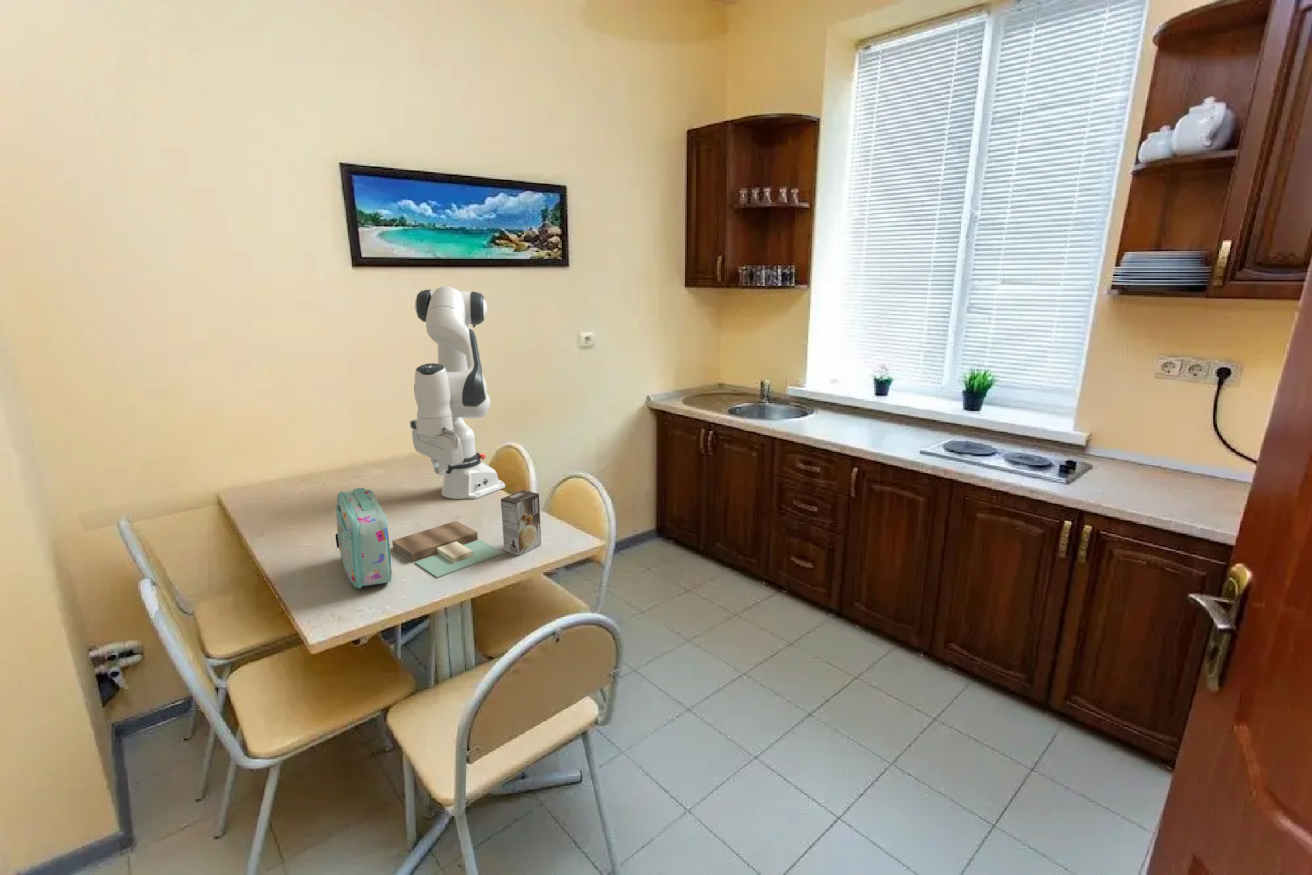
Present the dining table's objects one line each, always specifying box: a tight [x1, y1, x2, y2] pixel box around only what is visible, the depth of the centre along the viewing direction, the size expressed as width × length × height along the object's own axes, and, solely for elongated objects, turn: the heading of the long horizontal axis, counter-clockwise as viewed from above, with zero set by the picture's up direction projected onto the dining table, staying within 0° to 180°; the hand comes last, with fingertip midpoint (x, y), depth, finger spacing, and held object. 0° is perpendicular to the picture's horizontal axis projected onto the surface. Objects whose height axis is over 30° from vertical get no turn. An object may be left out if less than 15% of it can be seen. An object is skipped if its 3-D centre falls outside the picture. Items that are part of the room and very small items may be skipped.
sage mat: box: [414, 539, 504, 579], centre depth 167 cm, size 20×12×1 cm, turn 138°
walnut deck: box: [391, 520, 479, 563], centre depth 175 cm, size 20×12×2 cm, turn 138°
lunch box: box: [334, 487, 393, 589], centre depth 157 cm, size 27×10×21 cm, turn 35°
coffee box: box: [500, 489, 542, 557], centre depth 172 cm, size 9×6×16 cm
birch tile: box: [437, 542, 473, 563], centre depth 169 cm, size 6×9×2 cm, turn 48°
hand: (440, 473), depth 166 cm, fingers closed
